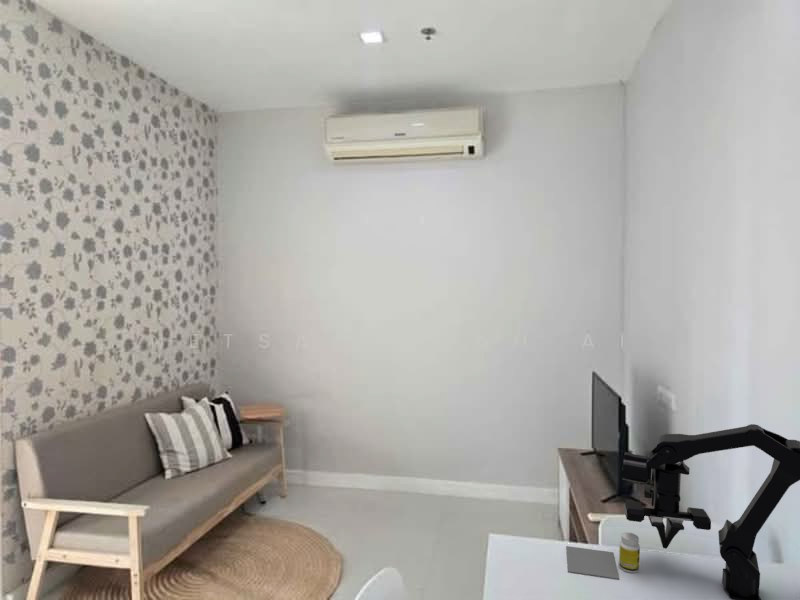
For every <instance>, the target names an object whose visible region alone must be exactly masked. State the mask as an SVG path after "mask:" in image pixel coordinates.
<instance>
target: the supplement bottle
mask: <svg viewBox="0 0 800 600" xmlns="http://www.w3.org/2000/svg"><path fill="white" fill-rule="evenodd" d="M620 539H621V540H620V541H619V547H618V548H619V550H618V551H619V555H618V557H619V558H618V566H619V569H621V570H622V571H624V572H625V573H633V574H635V573H637V572H639V571H640V553H641V552H640V551H641V549H640V548H641V546H640V544H639V543H640V538H639V536H638V535H637V534H635V533H632V532H626V531H625V532H623V533H622V534H621V538H620Z"/></svg>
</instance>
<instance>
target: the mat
mask: <svg viewBox="0 0 800 600" xmlns="http://www.w3.org/2000/svg"><path fill="white" fill-rule="evenodd" d="M565 547H566V549H565V550H567V551H566V561H567V562H566V563H567V564H568V565H567V573H569V572H570V574H577V575H584V576H590V577H591V576H592V577H597V578H605V579H609V580H610V579H611V580H617V581H618V580H619V581H620V576H619V571H618V566H617V562H616V557H615V554H614V552H613V551H606V550H601V549H600V550H599V549H592V548H583V547H575V546H569V545H566V546H565Z"/></svg>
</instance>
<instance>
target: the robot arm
mask: <svg viewBox="0 0 800 600" xmlns="http://www.w3.org/2000/svg"><path fill="white" fill-rule="evenodd" d="M746 447H755V448H757V449H759V450H761V451H762V452H763V453H765V454H766V455H768V456H770V457H771V458H773V462H772V464H771V465H772V466H771V469H770V473H768V475H767V477H766V478H765V480H764V482H763V483H762V484H761V486H760V487H759V489H758V490H757V492H756V493H755V495H754V496H753V497H752V499H751V501H750V502H749V504H748V505H747V506H746V508H745V509H744V511H743V513H742V514H741V515H740V517H739V518H738V519H737V520H735V521H734V522H732V521H730V520H728V519H726V520H725V522H724V525H723V527H722V528H721V529H719V530H718V531H717V532H718V544H719V554H720V556H721V558H722V559H723V561H724V562H725V568H722V578H721V580H722V581H721V584H722V585H721V586H722V587H723V589H724V591H725V592H726V593H727V596H728V597H729V598H730V599H733V600H734V599H735V600H762V598H761V596H760V585H761V583H760V581H761V572H760V567H759V563H758V562H759V561H758V557H757V554H756V552H755V551H754V546H755V541H756V538H757V536H758V533H759V532H760V530H761V529H762V528H763V526H764V525H765V523H766V522H767V520H768V518H769V517H770V515H771V514H772V513H773V511H774V510H775V508H776V507H777V506H778V504H779V503H780V501H781V499H782V498H783V497H784V496H785V494H786V493H787V491H788V489H789V488H790V487H791V486H792V485H794V484H796V483H797V482H799V481H800V440H797V439H788V438H786V437H784V436H783V435H780V434H779V433H778V434H777V433H776V432H773V431H770V430H767V429H765V428H763V427H762V426H760V425H759V424H755V423H754V424H753V423H752V424H748V425H745V426H740V427H733V428H729V429H724V430H716V431H711V432H704V433H700V434H683V433H665V434H662V435H660V436H659V438H658V439H657V440H656V445H655V447H654V448H653V449H651V450H650V451H649V453H648V455H647V456H646V455H641V454H636V453H631V452H627V451H625V452H624V455H623V463H622V469H621V479H622V480H624V481H628V482H629V481H630V482H635V483H639V484H643V485H642V498H645V499H649V500H650V505H651V506H652V507H653V508H651V507H643V505H642V502H641V501H635V500H625V502H624V503H623V512H624V515H625V518H626V520H627V521H628V522H637V523H641V522H643V521H644V520H645V517H648V520H649V522H650V526H651V527H653V528H656V530H657V532H658V535H659V538H660V542H661V546H662V549H666V550H667V549H668V547H669V546H670V544H671V543H672V541H673V539H674V538H675V537H676V535H677V534H678V533H679V532H680V531H684V530H685V526H684V525H683V523H684V521H687V522H692V525H693V526H694V528H695V529H697V530H706V531H710V530H711V529H712V520H711V518H710V516H709V515H708V513H707V511H706V510H705V509H704V508H699V507H698V508H697V507H688V508H687V509H686V511H680V503H681V478H682V477H681V476H682V475H686V476H689V475H690V467H689V466H688V465H686V463H685V462H684V461H687V460H689V459H691V458H693V457H695V456H698V455H701V454H706V453H707V454H708V453H715V452H719V451H726V450H733V449H738V448H739V449H740V448H746ZM653 470H654V485H653V486H652V485H650V484H648V483H649V481H652V477H653ZM652 487H653V488H652ZM664 519H666V526H665V523H664V521H663V520H664Z"/></svg>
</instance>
